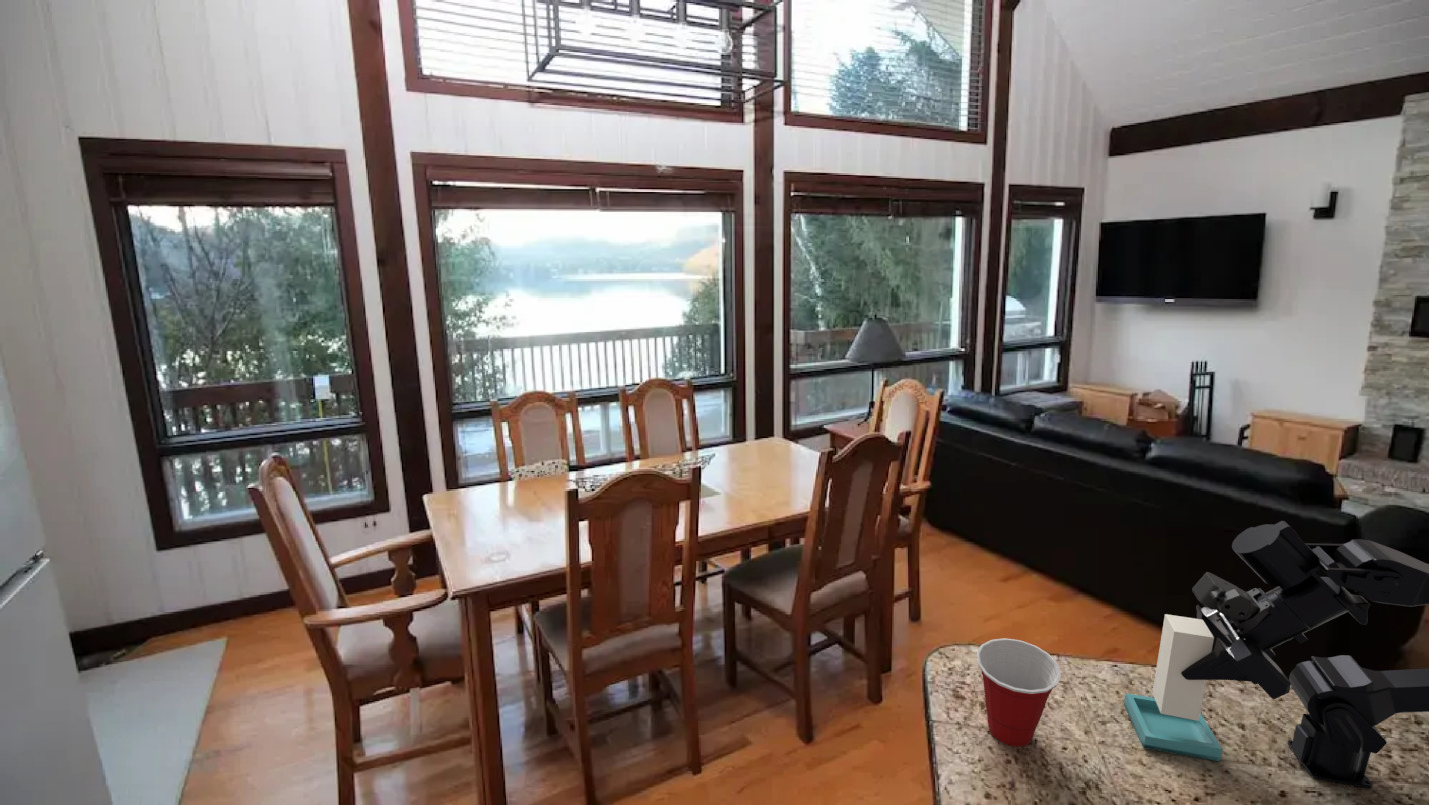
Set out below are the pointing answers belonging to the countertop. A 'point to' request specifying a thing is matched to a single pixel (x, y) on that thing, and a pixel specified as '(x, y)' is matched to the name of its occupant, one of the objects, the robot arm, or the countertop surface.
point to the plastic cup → (1015, 687)
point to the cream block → (1181, 666)
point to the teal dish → (1171, 730)
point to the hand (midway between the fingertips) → (1178, 665)
